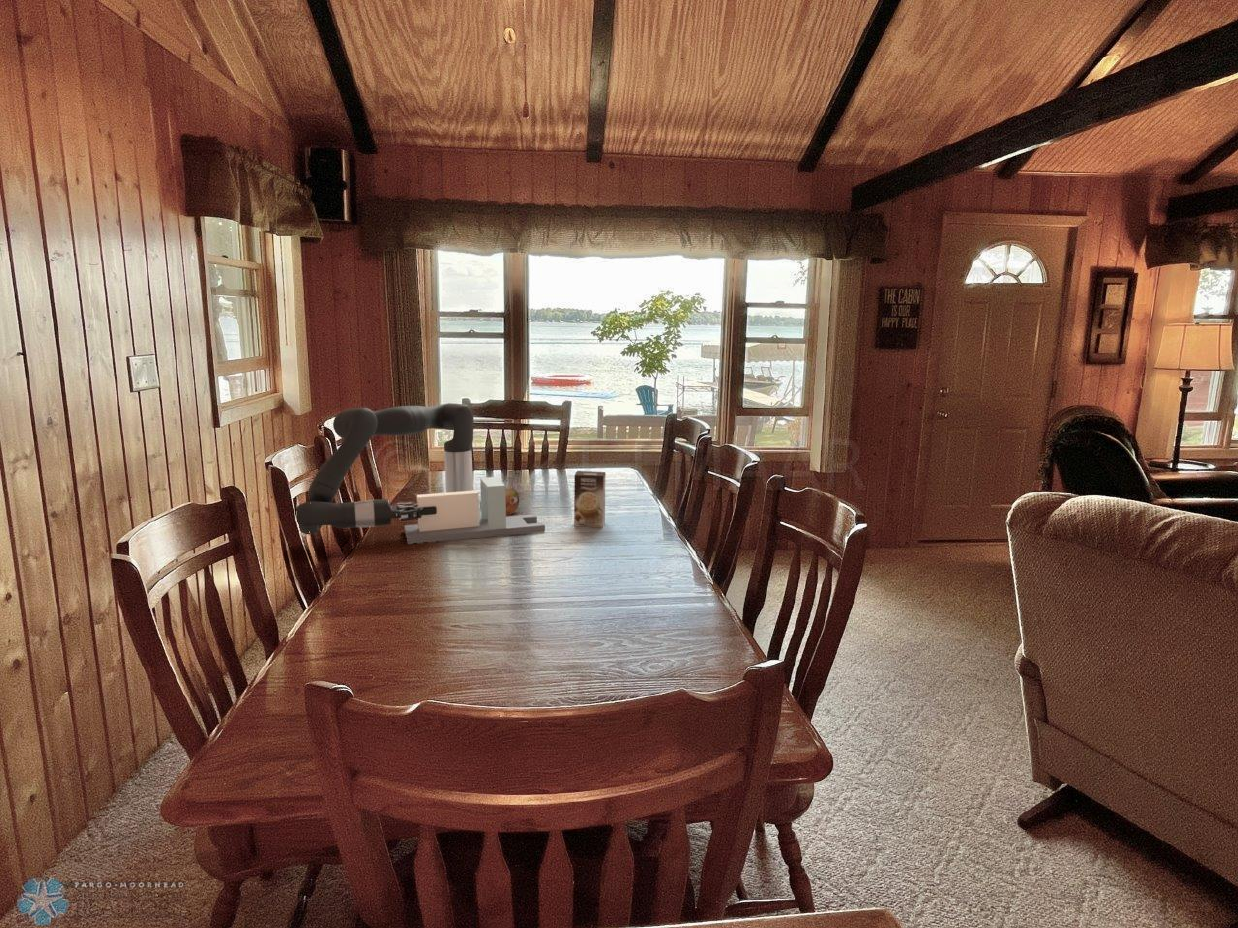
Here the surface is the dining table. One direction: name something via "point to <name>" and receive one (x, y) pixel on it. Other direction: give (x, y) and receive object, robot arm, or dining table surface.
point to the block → (449, 510)
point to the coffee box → (589, 499)
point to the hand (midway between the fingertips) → (435, 508)
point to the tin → (510, 500)
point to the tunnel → (493, 502)
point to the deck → (475, 530)
